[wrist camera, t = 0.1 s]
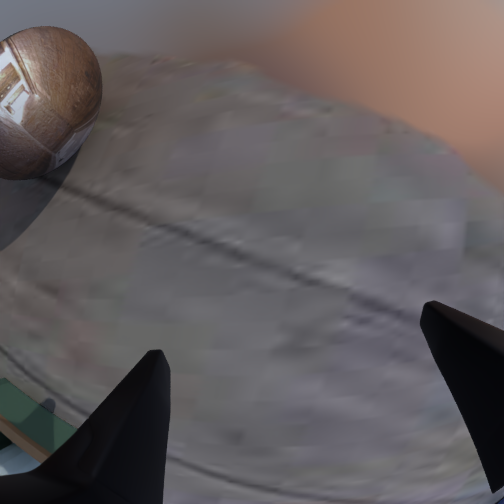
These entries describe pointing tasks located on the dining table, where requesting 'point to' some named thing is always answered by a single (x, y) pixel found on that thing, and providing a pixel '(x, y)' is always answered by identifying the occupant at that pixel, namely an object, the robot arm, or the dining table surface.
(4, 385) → the cubby cabinet
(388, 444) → the dining table surface
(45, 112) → the wooden sphere
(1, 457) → the storage jar
